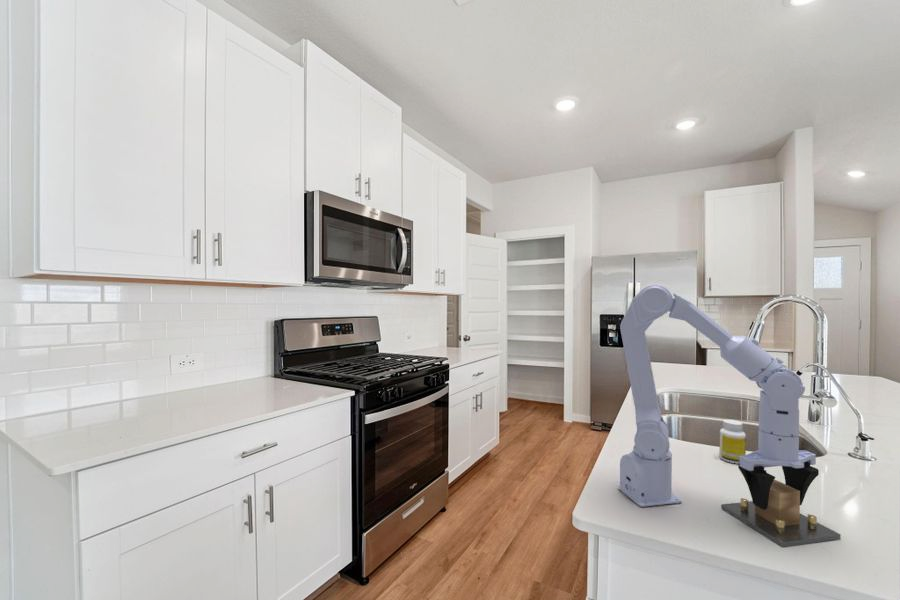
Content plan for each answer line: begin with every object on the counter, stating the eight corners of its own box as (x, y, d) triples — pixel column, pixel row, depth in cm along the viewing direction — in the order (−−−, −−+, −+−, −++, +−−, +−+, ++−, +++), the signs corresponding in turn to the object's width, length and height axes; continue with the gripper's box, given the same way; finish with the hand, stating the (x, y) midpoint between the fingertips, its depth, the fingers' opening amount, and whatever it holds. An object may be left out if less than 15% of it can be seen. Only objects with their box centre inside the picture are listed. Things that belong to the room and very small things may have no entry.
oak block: (779, 526, 70) (779, 493, 70) (755, 513, 75) (755, 481, 75) (799, 524, 71) (800, 491, 71) (774, 510, 76) (774, 479, 76)
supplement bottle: (750, 465, 97) (750, 426, 97) (725, 463, 98) (725, 424, 98) (738, 456, 103) (739, 419, 102) (715, 455, 104) (715, 417, 103)
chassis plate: (782, 547, 66) (782, 530, 66) (721, 508, 78) (721, 494, 78) (840, 539, 68) (840, 523, 68) (772, 502, 80) (772, 489, 80)
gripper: (765, 442, 67) (764, 520, 68) (834, 436, 70) (833, 512, 70) (729, 428, 74) (729, 499, 75) (793, 423, 77) (792, 492, 77)
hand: (777, 504), depth 73 cm, fingers open, 7 cm apart
